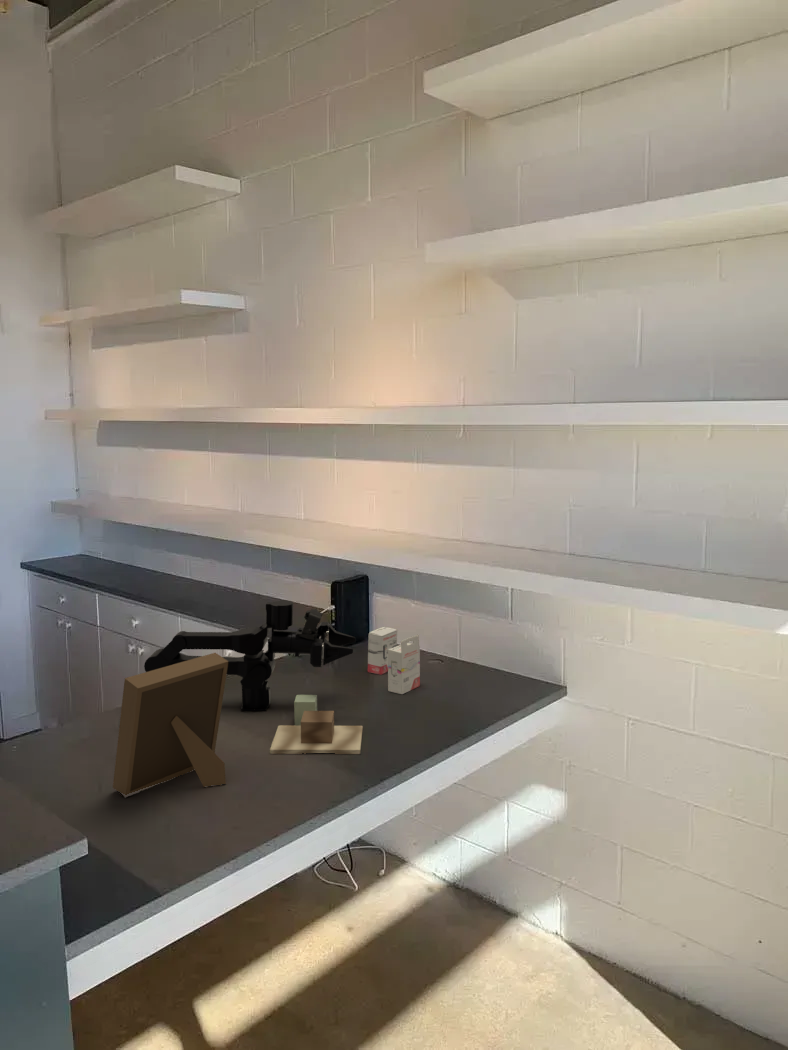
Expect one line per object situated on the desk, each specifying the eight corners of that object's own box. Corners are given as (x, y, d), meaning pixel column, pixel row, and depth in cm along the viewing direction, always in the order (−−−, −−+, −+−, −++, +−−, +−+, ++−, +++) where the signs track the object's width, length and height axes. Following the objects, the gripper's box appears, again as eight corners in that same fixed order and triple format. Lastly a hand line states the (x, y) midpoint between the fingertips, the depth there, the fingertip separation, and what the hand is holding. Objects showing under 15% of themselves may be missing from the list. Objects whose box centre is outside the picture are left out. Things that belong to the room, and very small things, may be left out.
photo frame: (112, 791, 170) (108, 671, 166) (200, 757, 186) (198, 647, 182) (157, 815, 160) (153, 689, 157) (245, 777, 177) (244, 661, 173)
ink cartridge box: (405, 682, 235) (405, 631, 233) (420, 686, 232) (420, 634, 230) (386, 691, 229) (386, 638, 226) (401, 695, 226) (401, 641, 224)
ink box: (381, 675, 241) (381, 635, 240) (367, 672, 244) (366, 632, 242) (398, 667, 249) (398, 628, 247) (383, 664, 251) (383, 625, 250)
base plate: (269, 753, 188) (269, 728, 187) (278, 729, 202) (278, 705, 201) (360, 754, 188) (360, 728, 187) (362, 729, 202) (362, 705, 201)
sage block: (294, 725, 204) (294, 702, 204) (297, 718, 209) (296, 694, 208) (315, 725, 204) (315, 702, 204) (317, 718, 209) (317, 694, 208)
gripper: (287, 622, 204) (352, 625, 203) (297, 601, 222) (357, 604, 222) (287, 666, 205) (351, 669, 205) (297, 642, 224) (356, 645, 224)
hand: (354, 645), depth 214 cm, fingers open, 9 cm apart
